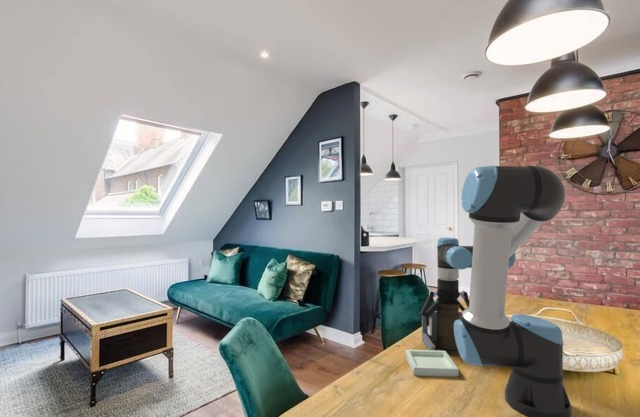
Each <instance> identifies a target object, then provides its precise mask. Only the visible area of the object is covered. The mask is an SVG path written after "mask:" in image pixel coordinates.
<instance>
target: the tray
mask: <svg viewBox="0 0 640 417" xmlns="http://www.w3.org/2000/svg"><path fill="white" fill-rule="evenodd" d="M405 358H406V361H407V363H408V366H409V368H410V370H411V372H412V375H413V376H418V377H419V376H420V377H442V378H443V377H447V378H459V373H460V372H459V367H458V366H457V365H456V364H455V362H454V361H453V359H452V358H451V357H450V355H449V354H447V352H446V351H438V350H436V349H435V350H427V349H406V348H405Z"/></svg>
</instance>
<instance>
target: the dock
mask: <svg viewBox="0 0 640 417" xmlns="http://www.w3.org/2000/svg"><path fill="white" fill-rule="evenodd" d="M426 312H427V311H426ZM458 314H459V319H460V320H462V314H463V311H458ZM430 317H431V318H432V335H429V334H428V326H426V324H425V316H422V315H421V342H422V343H423V345H424V346H425V348H426V350H436V347H435V346H436V345H434V343H436V340H437V310H435V311H434V312H433V313H432V315H431V316H430Z"/></svg>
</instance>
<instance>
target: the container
mask: <svg viewBox="0 0 640 417" xmlns="http://www.w3.org/2000/svg"><path fill="white" fill-rule="evenodd" d="M438 306H439V307H438V308H437V309H436V311H437V340H436V342H435V345H434V346H435V350H438V351H446V352H447V354H448V355H449V356H450V355H452V356H453V355H454V356H455V355H460V354H459V351H458V348H457V345H456V341H455V336H454V322H455V321H456V320H458V319H459V314H458V312H460V311H459V310H460V308H459V306H460V304H456V303H442V304H438Z"/></svg>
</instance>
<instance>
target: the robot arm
mask: <svg viewBox="0 0 640 417" xmlns="http://www.w3.org/2000/svg"><path fill="white" fill-rule="evenodd" d="M565 188H566V187H565V186H564V183H563V181H562V180H561V177H559V175H557V173H556V172H554V171H552V170H551V169H549V168H547V167H544V166H541V165H487V166H478V167H474V168H473V169H471V171H470V172H469V173H468V174H467V176H466V178H465V180H464V183H463V187H462V191H461V205H462V209H463V210H464V211H465V212H466V213H468V218H469V220H470V221H472V223H473V224H474V229H473V244H472V245H460V244H459V239H458V238H455V237H439V238H438V239H437V245H436V248H437V251H436V252H437V255H436V256H437V257H436V258H437V259H436V260H437V275H436V276H437V286H436V287H437V288H436V289H437V290H436V291H433V290H430V289H429V290H428V296H427V297H426V299H425V301H424V304H423V306H422V307H421V309H420V311H419V314H420V315H421V317H422V316H425V324H426V326H428V334H429V335H432V318H431V317H430V316H431V315H432V313H433V312H434V311H437V308H438V307H439V306H438V304H442V303H456V304H460V306H459V307H458V308H459V310H460V311H461V312H462V320H460V319H458V320H456V321H455V322H454V336H455V341H456V345H457V348H458V351H459V354H458V355H459V356H460V358H461V360H462V361H463V362H464V363H465V364H466V365H469V366H479V367H502V368H503V367H504V368H507V367H508V368H511V372H510V374H509V377H508V380H507V382H506V383H505V384H506V385H505V388H504V400H505V402H506V403H507V404H508V406H510V407H511V408H512V409H513V410H515V411H517V412H519V413H521V414H522V415H525V416H527V417H572V404H571V401H570V398H569V396H568V393H567V390H566V387H565V384H564V378H563V377H564V375H563V374H564V373H563V372H564V368H563V367H564V366H563V364H564V359H563V358H564V355H563V353H564V349H563V348H564V339H563V332H562V329H561V328H560V326H558V325H557V324H555V323H554V322H552V321H549V320H546V319H543V318H541V317H537V316H532V315H528V314H522V313H521V314H520V313H517V314H512V315H511V317H508V316H507V315H506V314H505V308H506V300H507V299H506V297H507V285H508V276H509V275H508V274H509V269H510V268H512V267H514V265H515V262H516V251H517V250H519V248H521V246H523V244H524V243H525V242H526V241H527V240H528V239H529V238H530V237H531V236H532V234H534V232H535V231H536V230H537V229H538V228H539V227H540V226H541V225H542V224H543V223H545V222H548V221H550V220H552V219H554V218H555V216H556V215H558V213H559V212H560V210H562V208H563V205H564V203H565V199H566V189H565ZM467 268H468V269H471V272H470V273H471V274H470V287H469V295H468V292H466V291H465V290H462V291H459V288H460V286H459V284H460V283H459V280H458V279H459V276H460V275H459V270H466V269H467ZM435 297H437V298H436V299H435V302H434V303H432V302H433V299H434V298H435ZM459 297H461V298H462V299H463V301H464V303H465V305H466V308H465V307H464V306H463V304H462V303H461V302H460V301H459V300H458V299H459ZM431 303H432V305H431ZM430 305H431V306H430ZM426 311H427V312H426ZM509 318H510V319H509Z"/></svg>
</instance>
